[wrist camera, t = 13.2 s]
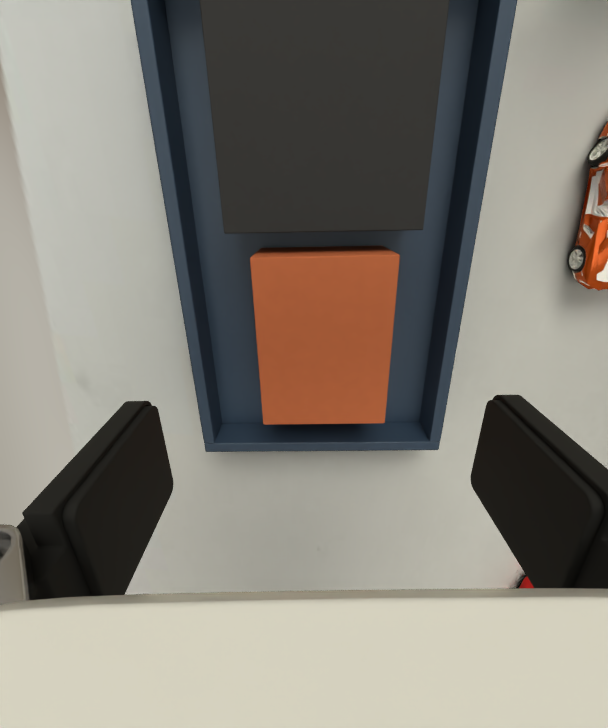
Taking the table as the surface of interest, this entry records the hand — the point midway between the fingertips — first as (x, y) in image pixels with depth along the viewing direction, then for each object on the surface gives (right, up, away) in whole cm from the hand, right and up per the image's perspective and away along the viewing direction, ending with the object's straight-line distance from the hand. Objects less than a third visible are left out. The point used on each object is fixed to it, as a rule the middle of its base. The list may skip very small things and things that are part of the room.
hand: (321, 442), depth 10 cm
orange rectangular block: (0, +4, +9) cm, 10 cm away
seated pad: (0, +13, +5) cm, 14 cm away
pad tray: (0, +8, +8) cm, 11 cm away
